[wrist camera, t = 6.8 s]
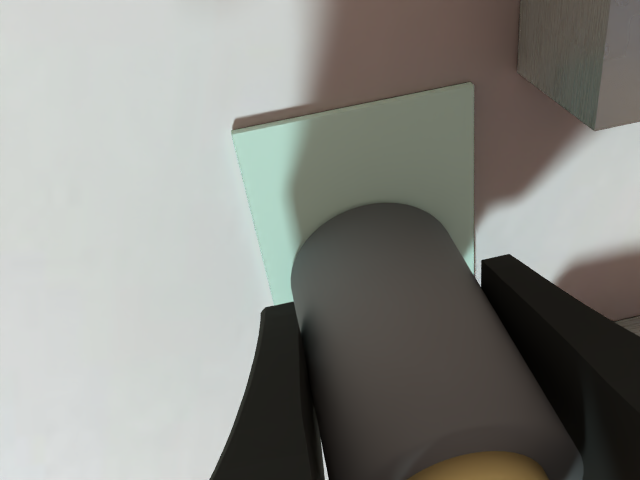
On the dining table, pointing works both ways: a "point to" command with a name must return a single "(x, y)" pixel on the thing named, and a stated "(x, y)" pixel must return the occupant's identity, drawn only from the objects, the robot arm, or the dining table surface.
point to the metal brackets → (585, 62)
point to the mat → (359, 170)
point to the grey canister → (416, 359)
